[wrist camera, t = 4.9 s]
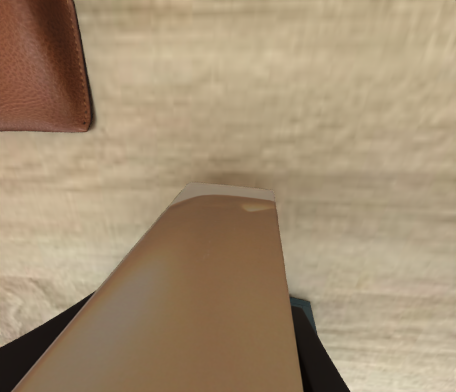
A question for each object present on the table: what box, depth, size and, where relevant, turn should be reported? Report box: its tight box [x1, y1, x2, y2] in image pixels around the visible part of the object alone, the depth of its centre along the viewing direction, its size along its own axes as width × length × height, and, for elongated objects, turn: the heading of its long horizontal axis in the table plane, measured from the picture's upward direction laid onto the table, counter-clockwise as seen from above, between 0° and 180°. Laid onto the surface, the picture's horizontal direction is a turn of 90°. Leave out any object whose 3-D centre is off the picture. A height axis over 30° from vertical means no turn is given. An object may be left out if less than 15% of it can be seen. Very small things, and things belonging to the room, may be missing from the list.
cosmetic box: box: [11, 182, 303, 392], centre depth 8 cm, size 6×4×12 cm
